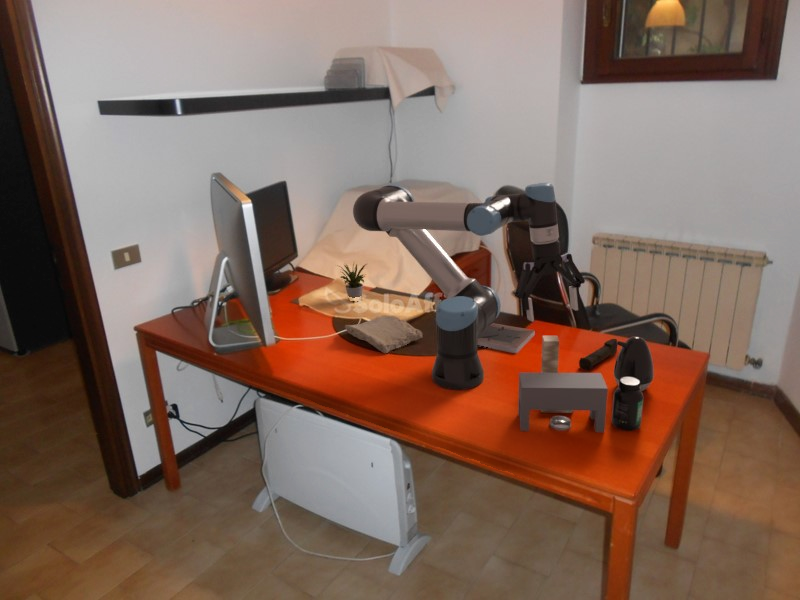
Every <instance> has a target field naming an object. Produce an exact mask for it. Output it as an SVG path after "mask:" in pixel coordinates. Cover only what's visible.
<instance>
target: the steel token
mask: <svg viewBox="0 0 800 600" xmlns="http://www.w3.org/2000/svg"><path fill="white" fill-rule="evenodd" d="M549 426H550V427H551V428H552V429H554V430H556V431H559V432H561V431H562V432H563V431H569V430H570V428H571V427H572V420H571V419H570V418H569V417H567V416H566V415H565V416H564V415H554V416H552V417H550V420H549Z"/></svg>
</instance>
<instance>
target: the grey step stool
mask: <svg viewBox="0 0 800 600" xmlns="http://www.w3.org/2000/svg"><path fill="white" fill-rule="evenodd" d="M608 391H609V389H608V386H607V383H606V381H605V379H604V377H603V375H602V373H601V372H558V373H541V372H520V371H519V372H518V401H517V402H518V405H517V406H518V407H517V408H518V409H517V412H518V413H517V414H518V419H519V429H520V431H521V432H529V431H530V411H536V410H538V411H541V410H573V411H589V416H590V420H594V426H593V428H594V431H595V433H605V427H606V415H607V402H608Z"/></svg>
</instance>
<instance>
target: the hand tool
mask: <svg viewBox="0 0 800 600" xmlns="http://www.w3.org/2000/svg"><path fill="white" fill-rule="evenodd" d="M617 342H618V339H616V338H611V339H609V340H606V341H605V342H604V344H603V345H602V346H601V347H599V348H598V349H596V350H595V351H593V352H592V353H590V354H588V355H587V356H585V357H580V359H579V361H578V366H579V368H580V369H581V370H584V371H591V370H592V369H593V367H594V366H596V365H597V364H599V363H601V362H602V361H604V360H605V359H607V358H608V357H609V358H610V357H613V356H614V355H615V354H616V352H617V350H618V345H617Z"/></svg>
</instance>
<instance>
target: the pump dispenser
mask: <svg viewBox="0 0 800 600" xmlns="http://www.w3.org/2000/svg"><path fill="white" fill-rule="evenodd" d="M617 346H620V347H621V348H620V350H619V352H618V354H617V356H616V360H615V364H614V369H613V376H614V378H615V383H616V384H617V385H619V380H620V378H622V377H634V378H637V379H638V380H640V390H641V392H644V391H645V390H647V389H648V387H650V385H651V383H652V381H653V380H654V371H655V370H654V362H653V357H652V353H651V349H650V347H649V345H648V343H647V341H646V340H645V339H644V338H643V337H641V336H638V335H637V336H630V337H629V338H627V339H626V340H625V342H624V341H620V340H617Z"/></svg>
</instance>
